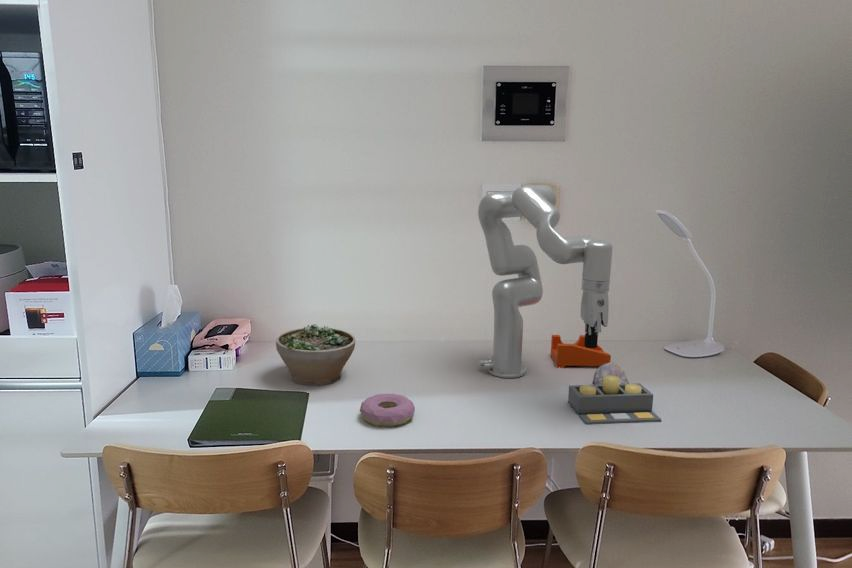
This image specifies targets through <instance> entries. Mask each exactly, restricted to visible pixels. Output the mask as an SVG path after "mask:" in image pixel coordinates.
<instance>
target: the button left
mask: <svg viewBox="0 0 852 568" xmlns="http://www.w3.org/2000/svg"><path fill="white" fill-rule="evenodd" d="M582 385H583V386H580V392H579V393H580V394H581V395H582V396H583V395H596V388H595V387H593V386H589V385H590V384H582Z"/></svg>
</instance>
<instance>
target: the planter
mask: <svg viewBox="0 0 852 568" xmlns="http://www.w3.org/2000/svg"><path fill="white" fill-rule="evenodd" d="M355 346H356V337H354V335H353V334H352V333H350V332H348V331H346V330H342V329H336V328H332V327H329V326H328V325H327V326H325V325H323V327H319V325H318V324H317V323H313V324H311V325H309V324H308V325H307V326H305V327H302V328H297V329H292V330H289V331H286V332H285V331H284V332H283V333H281V334H280V335H278V336H277V338H276V340H275V347H276V352H277V353H278V354H279V356H280V358H281V360H282V361H283V363H284V365H285V367H286V368H287V369H288V372H289V373H290V380H291V381H292V382H293V383H294V384H297V385H301V386H308V387H317V386H318V387H319V386H320V387H321V386H326V385H327V386H328V385H330V384H333V383H336V382H338V381H340V379H341V374H342V371H343V369H344V367H345V366H346V364H347V362H348V361H349V359H350V358H351V356H352V354H353V352H354V350H355Z"/></svg>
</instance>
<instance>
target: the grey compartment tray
mask: <svg viewBox="0 0 852 568" xmlns="http://www.w3.org/2000/svg"><path fill="white" fill-rule="evenodd" d="M634 384H636V385H639V386H641V387H642V390H641V394H628V393H627V392H626V391H625V385H627V384H619V394H613V395H605V394H604V393H603V392H602V388H603V385H594V384H588V385H589V386H593V387H595V388H596V395H583V396H582V395H581V394H580V393H579V392H580V386H583V385H584V384H582V385H581V384H579V385H577V384H575V385H574V384H573V385H568V396H567V397H568V398H567V404H568V403H569V404H570V405H571V406H572V407H571V406H570V405H569V404H568V405H569V406H570V407H571V409H572V408H573V409H574V410H575V411H574V410H573V409H572V410H573V411H574V412H575V413H576V415H577V414H578V415H577V416H579V415H587V414H614V413H641V412H653V402H654V394H653V393H652V392H651V391H650V390H649V389H647V388H646V387H645V386H644V385H643V384H641V383H634Z"/></svg>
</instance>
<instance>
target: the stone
mask: <svg viewBox="0 0 852 568" xmlns="http://www.w3.org/2000/svg"><path fill="white" fill-rule="evenodd" d="M606 375H612V376H617V377H619V378H620V382H619V384H630V383H629V380H628V379H627V376H626V373H625V371H624V370H623V369H622V368H621V367H620V366H619V365H618V364H616V363H614V362H610V363H606V364H604V365H602V366H598V368H597V369H596V370H595V372H594V375H593V380H592V385H603V377H604V376H606Z"/></svg>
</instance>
